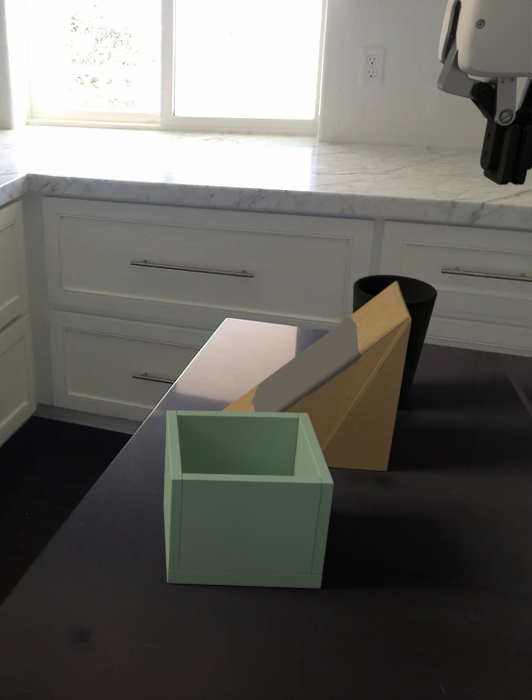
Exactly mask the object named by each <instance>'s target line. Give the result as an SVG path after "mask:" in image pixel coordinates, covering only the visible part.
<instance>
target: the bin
mask: <svg viewBox="0 0 532 700" xmlns="http://www.w3.org/2000/svg"><path fill="white" fill-rule="evenodd" d="M165 423H166V424H165V453H164V478H163V479H164V484H163V519H164V521H163V522H164V542H165V563H166V581H167V582H166V583H167V584H180V585H181V584H182V585H206V586H207V585H209V586H210V585H211V586H214V585H215V586H235V587H236V586H238V587H239V586H240V587H241V586H242V587H267V588H293V589H296V588H297V589H321V587H322V580H323V570H324V563H325V556H326V548H327V540H328V534H329V533H328V532H329V525H330V518H331V509H332V501H333V495H334V486H335V482H334V479H333V477H332V474H331V472H330V469H329V467H328V466H327V463H326V461H325V458H324V455H323V453H322V450H321V447H320V445H319V442H318V439H317V436H316V434H315V431H314V428H313V426H312V423H311V420H310V418H309V415H308V413H286V412H235V411H222V410H181V409H179V410H178V409H177V410H175V409H172V410H171V409H167V410H166V422H165Z"/></svg>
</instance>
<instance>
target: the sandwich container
mask: <svg viewBox="0 0 532 700" xmlns="http://www.w3.org/2000/svg"><path fill="white" fill-rule="evenodd" d="M410 326H411V316H410V314H409V311H408V309H407V306H406V304H405V301H404V299H403V296H402V293H401V290H400V287H399V284H398V282H397V281H395V282H394V283H392V284H391V285H390V286H388V287H387V288H386V289H385V290H383V291H382V292H381V293H379V294H378V295H377V296H375V297H374V298H373V299H372V300H370V301H369V302H368V303H366V304H365V305H364V306H362V307H361V308H360V309H359V310H357V311H356V312H355V313H353V312H352V314H350V315H349V316H348V317H347V318H345V319H344V320H343V321H341V322H340V323H339V324H338V325H336V326H334V328H332V329H331V330H330V331H328V332H327V333H326V334H324V335H322V336H321V337H320V338H319V339H317V340H316V341H315V342H313V343H312V344H310V345H309V346H308V347H306V348H305V349H303V350H302V351H301V352H300V353H299V354H297V355H295V356H294V357H293V358H292V359H291V360H289V361H288V362H287V363H285V364H284V365H282V366H281V367H280V368H278V369H276V371H274V372H273V373H271V374H270V375H268V377H266V378H265V379H263V380H262V381H261V382H259V383H258V384H257V385H255V386H254V387H252V388H251V389H250V390H248V391H247V392H246V393H244V394H243V395H241V396H240V397H239V398H237V399H236V400H235V401H232V402H231V403H230V404H229V405H227V406H226V407H225V408H223V409H222V410H221V411H235V412H286V413H308V415H309V418H310V420H311V423H312V426H313V428H314V431H315V434H316V436H317V439H318V442H319V445H320V447H321V450H322V453H323V455H324V458H325V461H326V463H327V466H328V468H336V469H350V470H365V471H379V472H387V471H388V467H389V461H390V455H391V449H392V444H393V443H392V442H393V436H394V430H395V425H396V424H395V423H396V418H397V411H398V409H397V406H398V400H399V394H400V388H401V382H402V375H403V369H404V363H405V357H406V351H407V345H408V339H409V332H410Z"/></svg>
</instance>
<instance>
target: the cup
mask: <svg viewBox="0 0 532 700" xmlns="http://www.w3.org/2000/svg"><path fill="white" fill-rule="evenodd" d="M395 281H397V282H398V284H399V287H400V290H401V293H402V296H403V299H404V301H405V304H406V306H407V309H408V311H409V314H410V316H411V326H410V332H409V339H408V345H407V351H406V357H405V363H404V369H403V375H402V382H401V388H400V394H399V400H398V406H397V410H399V409H402V408H403V407H406V405H407V404H408V401H409V398H410V394H411V390H412V387H413V383H414V380H415V376H416V372H417V369H418V365H419V362H420V358H421V354H422V351H423V347H424V343H425V341H426V340H425V339H426V336H427V333H428V329H429V325H430V323H431V318H432V314H433V311H434V308H435V304H436V300H437V296H438V291H437V289H436V287H434V286H433V285H432V284H430V283H428V282H425V281H423V280H421V279H418V278H414V277H409V276H405V275H404V276H403V275H395V274H373V275H368V276H363V277H361V278H358V279H357V280H356V281H354V283H353V286H352V287H353V289H352V314H353V313H355V312H356V311H357V310H359V309H360V308H361V307H362V306H364V305H365V304H366V303H368V302H369V301H370V300H372V299H373V298H374V297H375V296H377V295H378V294H379V293H381V292H382V291H383V290H385V289H386V288H387V287H388V286H390V285H391V284H392V283H394V282H395Z"/></svg>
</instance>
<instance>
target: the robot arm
mask: <svg viewBox="0 0 532 700" xmlns="http://www.w3.org/2000/svg"><path fill="white" fill-rule="evenodd" d="M445 8H446V9H445V13H444V17H443V22H442V27H441V32H440V38H439V43H438V60H439V62H440V63H441V65H442V69H441V71H440V73H439V76H438V79H437V81H436V87H437V89H438V90H439V91H441V92H444V93H446V94H450V95H454V96H457V97H461V98H466V99H470V100H471V102H472V103H473V104H474V105H475V107H476V108H477V110H479V111H480V113H481V116H482V117H483V118H484V119H486V125H485V132H484V136H483V142H482V148H481V153H480V158H479V159H480V160H479V165H480V168H481V169H482V170H483V176H484V177H485V178H487V179H488V180H490V181H491V182H493V183H495V184H496V185H498V186H501V185H502V186H507V185H508V184H512V185H515V186H520V185H521V186H522V185H524V184H525V183H526V178H527V175H528V171H530V170H532V0H447V3H446V7H445ZM470 76H472V77H479V78H481V80H480V79H476V78H472V77H470ZM518 78H526V79H525V83H524V86H523V90H522V92H521V96H520V98H519V101H518V104H517V92H518V91H517V90H518Z"/></svg>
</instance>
